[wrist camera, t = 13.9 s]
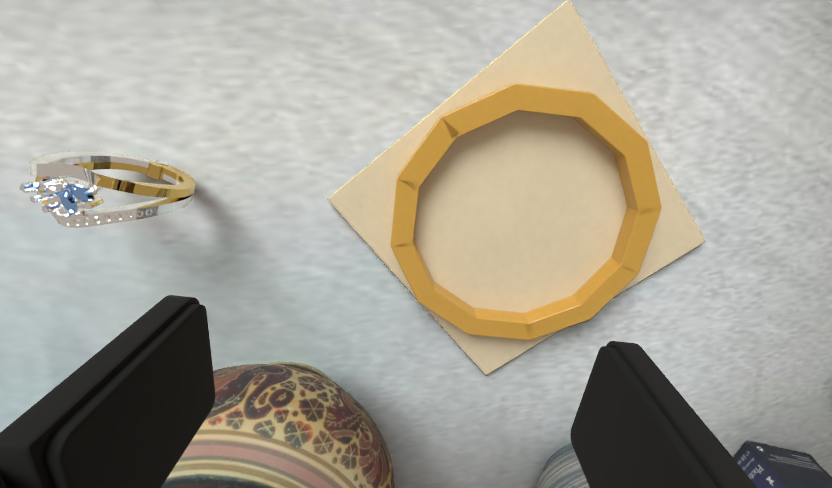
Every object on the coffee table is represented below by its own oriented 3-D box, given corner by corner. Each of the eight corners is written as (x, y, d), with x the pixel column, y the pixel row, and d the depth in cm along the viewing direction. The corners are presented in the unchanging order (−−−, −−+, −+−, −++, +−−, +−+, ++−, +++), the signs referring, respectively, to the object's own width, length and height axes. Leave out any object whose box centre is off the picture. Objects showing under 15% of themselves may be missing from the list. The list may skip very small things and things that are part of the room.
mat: (566, 0, 22) (569, -2, 21) (701, 238, 27) (706, 241, 26) (328, 197, 26) (326, 199, 25) (484, 371, 31) (485, 375, 30)
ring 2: (563, 14, 21) (572, 9, 20) (693, 240, 26) (708, 248, 25) (336, 201, 25) (332, 207, 24) (486, 368, 30) (489, 380, 29)
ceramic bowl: (140, 374, 34) (-50, 595, 22) (176, 237, 25) (-123, 489, 12) (382, 478, 39) (337, 708, 27) (490, 396, 29) (498, 694, 17)
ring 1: (105, 172, 25) (-27, 206, 18) (109, 124, 24) (-30, 137, 16) (213, 209, 26) (131, 255, 18) (222, 163, 25) (138, 194, 17)
